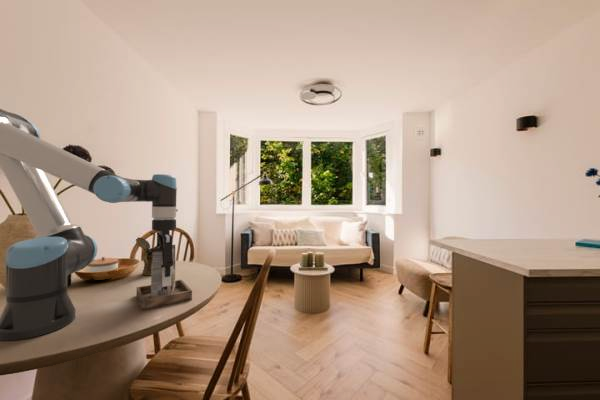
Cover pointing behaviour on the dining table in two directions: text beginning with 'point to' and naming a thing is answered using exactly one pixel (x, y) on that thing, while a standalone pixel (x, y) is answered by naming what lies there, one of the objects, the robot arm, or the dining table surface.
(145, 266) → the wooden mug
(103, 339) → the dining table surface
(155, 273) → the coffee box
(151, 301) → the walnut tray
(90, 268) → the lidded jar
